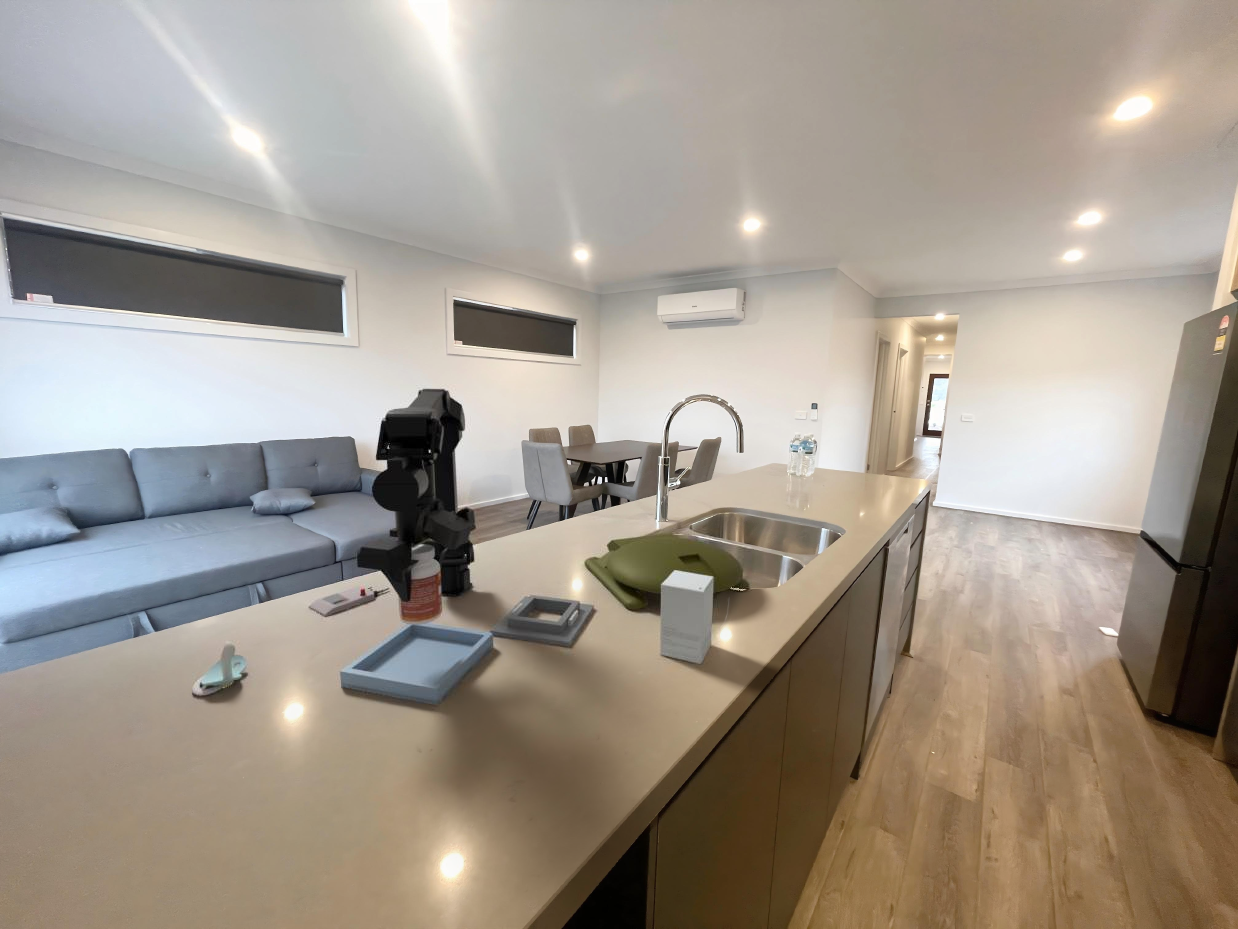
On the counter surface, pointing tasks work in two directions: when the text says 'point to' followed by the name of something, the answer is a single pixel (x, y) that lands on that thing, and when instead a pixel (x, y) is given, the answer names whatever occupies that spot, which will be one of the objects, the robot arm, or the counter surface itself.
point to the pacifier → (222, 671)
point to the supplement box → (686, 616)
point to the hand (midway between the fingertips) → (419, 592)
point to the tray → (418, 662)
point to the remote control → (344, 600)
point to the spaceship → (661, 566)
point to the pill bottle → (423, 589)
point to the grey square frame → (544, 621)
